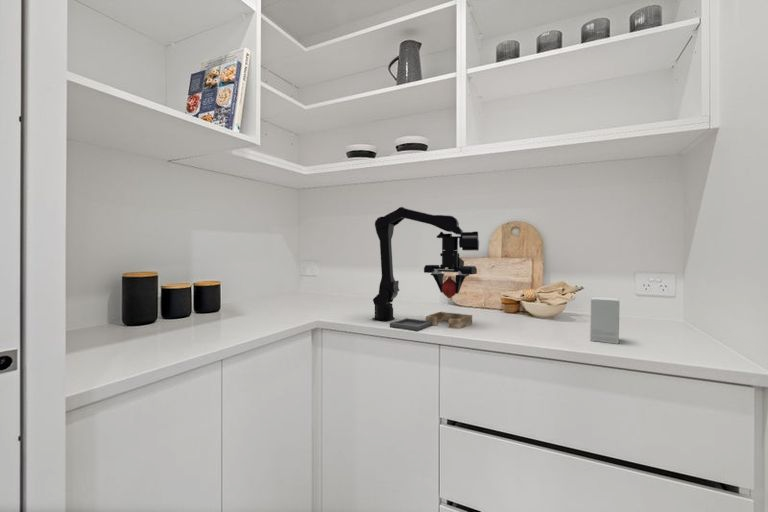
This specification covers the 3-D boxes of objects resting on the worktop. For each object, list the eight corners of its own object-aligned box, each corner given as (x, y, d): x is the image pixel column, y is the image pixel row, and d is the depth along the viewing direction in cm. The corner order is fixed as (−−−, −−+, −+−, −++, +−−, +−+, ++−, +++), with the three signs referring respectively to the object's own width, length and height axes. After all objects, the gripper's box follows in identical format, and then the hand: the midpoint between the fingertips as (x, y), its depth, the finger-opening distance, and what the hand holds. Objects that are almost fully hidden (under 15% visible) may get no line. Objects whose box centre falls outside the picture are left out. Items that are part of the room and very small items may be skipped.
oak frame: (425, 324, 132) (425, 316, 132) (440, 319, 142) (440, 311, 142) (459, 328, 125) (459, 320, 125) (472, 323, 135) (472, 315, 135)
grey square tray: (389, 327, 127) (389, 322, 127) (406, 322, 136) (406, 318, 136) (417, 331, 121) (417, 326, 121) (432, 325, 130) (432, 321, 130)
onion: (457, 299, 130) (457, 277, 130) (441, 299, 131) (441, 276, 131) (457, 297, 136) (457, 276, 136) (442, 297, 137) (442, 275, 137)
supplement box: (619, 344, 105) (619, 300, 105) (589, 340, 109) (590, 298, 109) (618, 339, 111) (619, 297, 111) (590, 336, 115) (591, 296, 115)
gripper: (482, 250, 134) (482, 292, 135) (436, 250, 145) (436, 289, 145) (471, 250, 125) (470, 295, 126) (423, 250, 136) (423, 292, 136)
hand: (449, 293), depth 133 cm, fingers closed on onion, 6 cm apart
